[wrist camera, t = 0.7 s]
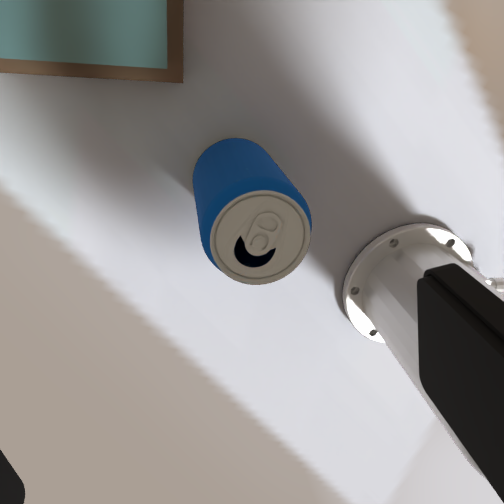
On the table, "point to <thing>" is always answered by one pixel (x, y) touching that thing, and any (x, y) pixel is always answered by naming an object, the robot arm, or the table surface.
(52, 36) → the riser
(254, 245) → the beverage can
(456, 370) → the robot arm
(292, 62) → the table surface
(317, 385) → the table surface
